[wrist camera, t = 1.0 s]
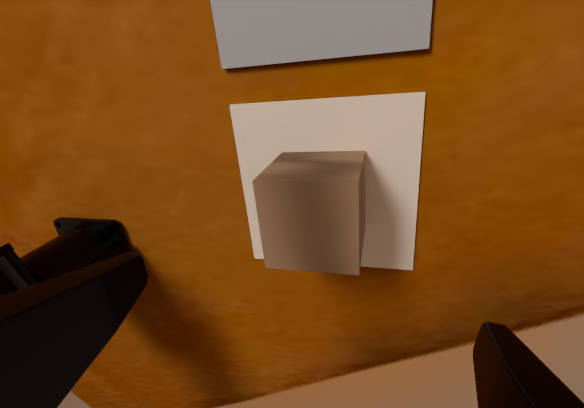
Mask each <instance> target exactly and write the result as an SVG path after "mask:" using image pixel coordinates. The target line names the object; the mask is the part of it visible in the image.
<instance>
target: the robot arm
mask: <svg viewBox="0 0 584 408" xmlns="http://www.w3.org/2000/svg"><path fill="white" fill-rule="evenodd" d="M54 226H55V228H56V230H57V232H58V235H59V236H58V237H56V238H54V239H53V240H51V241H49V242H47V243H46V244H44V245H42V246H40V247H38V248H37V249H35V250H33V251H31V252H30V253H28V254H26V255H24V256H23V257H21V258H19V257H18V256H17V255H16V253H15V252H14V251H13V250H14V248H13V247H12V246H11V245H10V243H7V244H5V245H3V246H1V247H0V408H57V407H58V405H60V403H61V402H62V401H63V399H64V398H65V397H66V396H67V394H68V393H69V392H70V390H71V389H72V388H73V387H74V385H75V384H76V383H77V381H78V380H79V379H80V378H81V376H82V375H83V374H84V372H85V371H86V370H87V369H88V367H89V366H90V365H91V363H92V362H93V361H94V360H95V358H96V357H97V356H98V354H99V353H100V352H101V351H102V349H103V348H104V347H105V345H106V344H107V343H108V342H109V340H110V339H111V338H112V336H113V335H114V334H115V332H116V331H117V330H118V328H119V327H120V325H121V324H122V322H123V321H124V319H125V318H126V316H127V314H128V313H129V311H130V310H131V308H132V307H133V305H134V304H135V302H136V300H137V299H138V297H139V296H140V294H141V293H142V291H143V290H144V288H145V286H146V285H147V282H148V273H147V269H146V265H145V261H144V258H143V256H142V255H140V254H137V253H132V252H129V250H128V247H127V244H126V241H125V238H124V235H123V233H122V230H121V227H120V225H119V223H118V222H117V221H115V220H103V219H81V218H58V219H56V220H54ZM473 362H474V372H475V381H476V391H477V400H478V408H584V403H583V402H582V401H581V400H580V399H579V398H578V397H577V396H576V395H575V394H574V393H573V392H572V391H571V390H570V389H569V388H568V387H567V386H566V385H565V384H564V383H563V382H562V381H561V380H560V379H559V378H558V377H557V376H556V375H555V374H554V373H552V371H551V370H550V369H549V368H548V367H547V366H546V365H545V364H544V363H543V362H542V361H541V360H540V359H539V358H538V357H537V356H536V355H535V354H534V353H533V352H532V351H531V350H530V349H529V348H528V347H527V346H526V345H525V344H524V343H523V342H522V341H521V340H520V339H519V338H518V337H516V335H515V334H514V333H513V332H512V331H511V330H510V329H509V328H508V327H506V326H505V325H502V324H498V323H493V322H488V321H486V322H483V324H482V325H481V328H480V330H479V333H478V336H477V339H476V342H475V345H474V348H473Z"/></svg>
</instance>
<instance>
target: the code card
mask: <svg viewBox="0 0 584 408" xmlns="http://www.w3.org/2000/svg"><path fill="white" fill-rule="evenodd" d="M425 94H426V92H413V93H398V94H383V95H367V96H352V97H337V98H322V99H306V100H291V101H276V102H260V103H245V104H230V111H231V118H232V124H233V130H234V136H235V142H236V148H237V154H238V160H239V166H240V172H241V178H242V184H243V190H244V196H245V202H246V208H247V215H248V221H249V227H250V233H251V239H252V245H253V251H254V257H255V258H256V259H264V255H263V249H262V242H261V235H260V229H259V222H258V216H257V209H256V202H255V196H254V189H253V183H252V181H253V180H254V179H255V178H256V177H257V176H258V175H259V174H260V173H261V172H262V171H263V170H264V169H265V168H266V167H267V166H268V165H270V164H271V163H272V162H273V161H274V160H275V159H276V158H277V157H278V156H279V155H280V154H281V153H282V152H326V151H365V235H364V243H363V251H362V259H361V266H362V267H375V268H389V269H402V270H413V262H414V248H415V234H416V220H417V206H418V192H419V178H420V164H421V150H422V136H423V122H424V108H425Z"/></svg>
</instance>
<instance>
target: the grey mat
mask: <svg viewBox="0 0 584 408" xmlns="http://www.w3.org/2000/svg"><path fill="white" fill-rule="evenodd" d="M210 1H211V7H212V13H213V19H214V25H215V31H216V37H217V43H218V49H219V55H220V61H221V67H222V69H228V68H238V67H248V66H258V65H268V64H278V63H289V62H299V61H309V60H319V59H329V58H339V57H349V56H359V55H369V54H380V53H390V52H400V51H410V50H420V49H429V44H430V30H431V16H432V2H433V0H210Z"/></svg>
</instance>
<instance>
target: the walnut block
mask: <svg viewBox="0 0 584 408" xmlns="http://www.w3.org/2000/svg"><path fill="white" fill-rule="evenodd" d="M252 183H253V189H254V196H255V202H256V209H257V216H258V222H259V229H260V235H261V242H262V249H263V255H264V262H265V268H274V269H286V270H298V271H311V272H323V273H335V274H347V275H359V274H360V266H361V259H362V251H363V243H364V235H365V151H326V152H282V153H281V154H280V155H279V156H278V157H277V158H276V159H275V160H274V161H273V162H272V163H271V164H270V165H268V166H267V167H266V168H265V169H264V170H263V171H262V172H261V173H260V174H259V175H258V176H257V177H256V178H255V179H254V180H253V181H252Z"/></svg>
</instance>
